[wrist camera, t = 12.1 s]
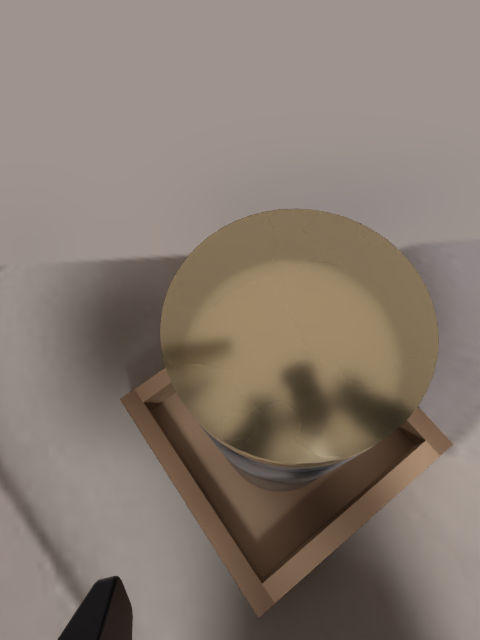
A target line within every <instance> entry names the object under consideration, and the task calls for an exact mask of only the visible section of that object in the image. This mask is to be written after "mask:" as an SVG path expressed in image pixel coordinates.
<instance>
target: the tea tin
mask: <svg viewBox="0 0 480 640" xmlns="http://www.w3.org/2000/svg"><path fill="white" fill-rule="evenodd" d="M160 340H161V351H162V355H163V360H164V365H165V368H166V370H167V373H168V376H169V378H170V381H171V383H172V385H173V387H174V389H175V391H176V392H177V394H178V396H179V398H180V399H181V401H182V402H183V403H184V405H185V406H186V407H187V409H188V410H189V411H190V413H191V414H192V415H193V417H194V418H195V419H196V420H197V422H198V423H199V424H200V426H201V427H202V428H203V429H204V431H205V432H206V433H207V434H208V436H209V437H210V438H211V440H212V441H213V442H214V443H215V445H216V446H217V447H218V448H219V450H220V451H221V452H222V454H223V455H224V456H225V457H226V459H227V460H228V461H229V463H230V464H231V465H232V466H233V468H234V469H235V470H236V471H237V472H238V473H239V474H240V475H241V476H242V477H243V478H244V479H246V480H247V481H248V482H250V483H252V484H253V485H255V486H258V487H260V488H263V489H266V490H271V491H291V490H295V489H299V488H302V487H304V486H306V485H308V484H310V483H311V482H313V481H315V480H317V479H318V478H320V477H322V476H323V475H325V474H327V473H329V472H330V471H332V470H334V469H335V468H337V467H339V466H341V465H342V464H344V463H346V462H347V461H349V460H351V459H353V458H354V457H356V456H358V455H359V454H361V453H363V452H365V451H366V450H368V449H370V448H371V447H373V446H375V445H376V444H378V443H379V442H381V441H382V440H384V439H385V438H387V437H388V436H390V435H391V434H393V433H394V432H395V431H396V430H397V429H398V428H399V427H400V426H401V425H403V424H404V423H405V422H406V421H407V419H408V418H409V417H410V416H411V415H412V413H413V412H414V411H415V410H416V408H417V407H418V405H419V404H420V402H421V400H422V399H423V397H424V395H425V394H426V392H427V390H428V387H429V385H430V382H431V380H432V377H433V375H434V370H435V366H436V362H437V356H438V343H439V337H438V323H437V319H436V314H435V310H434V306H433V303H432V300H431V298H430V295H429V292H428V290H427V288H426V286H425V284H424V282H423V280H422V279H421V277H420V275H419V274H418V272H417V271H416V270H415V268H414V267H413V265H412V264H411V262H410V261H409V260H408V259H407V258H406V257H405V256H404V255H403V254H402V253H401V252H400V250H398V249H397V248H396V247H395V246H394V245H393V244H391V243H390V242H389V241H388V240H387V239H385V238H384V237H382V236H381V235H380V234H378V233H377V232H375V231H373V230H371V229H370V228H368V227H366V226H364V225H362V224H360V223H358V222H356V221H353V220H351V219H348V218H346V217H343V216H340V215H336V214H332V213H328V212H323V211H317V210H310V209H279V210H273V211H266V212H262V213H258V214H254V215H250V216H247V217H245V218H242V219H240V220H237V221H235V222H233V223H231V224H229V225H227V226H225V227H223V228H221V229H220V230H218V231H217V232H215V233H214V234H212V235H211V236H209V237H208V238H207V239H205V240H204V241H203V242H202V243H201V244H200V245H199V246H197V247H196V248H195V249H194V250H193V252H192V253H191V254H190V255H189V256H188V257H187V258H186V259H185V261H184V262H183V264H182V265H181V267H180V268H179V269H178V271H177V273H176V274H175V276H174V278H173V280H172V282H171V284H170V286H169V289H168V292H167V294H166V297H165V300H164V305H163V309H162V314H161V324H160Z"/></svg>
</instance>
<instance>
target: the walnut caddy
mask: <svg viewBox="0 0 480 640" xmlns="http://www.w3.org/2000/svg"><path fill="white" fill-rule="evenodd" d="M120 400H121V402H122V403H123V405H124V406H125V408H126V410H127V411H128V413H129V414H130V416H131V417H132V419H133V421H134V422H135V424H136V425H137V427H138V429H139V430H140V432H141V433H142V435H143V436H144V438H145V440H146V441H147V443H148V444H149V446H150V448H151V449H152V451H153V452H154V454H155V455H156V457H157V459H158V460H159V462H160V463H161V465H162V466H163V468H164V470H165V471H166V473H167V474H168V476H169V478H170V479H171V481H172V482H173V484H174V485H175V487H176V489H177V490H178V492H179V493H180V495H181V497H182V498H183V500H184V501H185V503H186V504H187V506H188V508H189V509H190V511H191V512H192V514H193V516H194V517H195V519H196V520H197V522H198V523H199V525H200V527H201V528H202V530H203V531H204V533H205V534H206V536H207V538H208V539H209V541H210V542H211V544H212V546H213V547H214V549H215V550H216V552H217V553H218V555H219V557H220V558H221V560H222V561H223V563H224V565H225V566H226V568H227V569H228V571H229V572H230V574H231V576H232V577H233V579H234V580H235V582H236V584H237V585H238V587H239V588H240V590H241V591H242V593H243V595H244V596H245V598H246V599H247V601H248V602H249V604H250V606H251V607H252V609H253V610H254V612H255V614H256V615H257V617H258V618H259V617H260V616H261V615H263V614H264V613H265V612H266V611H267V610H268V609H269V608H270V607H272V606H273V605H274V604H275V603H276V602H277V601H278V600H279V599H281V598H282V597H283V596H284V595H285V594H286V593H287V592H288V591H289V590H291V589H292V588H293V587H294V586H295V585H296V584H297V583H298V582H300V581H301V580H302V579H303V578H304V577H305V576H306V575H307V574H308V573H310V572H311V571H312V570H313V569H314V568H315V567H316V566H317V565H319V564H320V563H321V562H322V561H323V560H324V559H325V558H326V557H328V556H329V555H330V554H331V553H332V552H333V551H334V550H335V549H336V548H338V547H339V546H340V545H341V544H342V543H343V542H344V541H345V540H347V539H348V538H349V537H350V536H351V535H352V534H353V533H354V532H355V531H357V530H358V529H359V528H360V527H361V526H362V525H363V524H364V523H366V522H367V521H368V520H369V519H370V518H371V517H372V516H373V515H375V514H376V513H377V512H378V511H379V510H380V509H381V508H382V507H383V506H385V505H386V504H387V503H388V502H389V501H390V500H391V499H392V498H394V497H395V496H396V495H397V494H398V493H399V492H400V491H401V490H402V489H404V488H405V487H406V486H407V485H408V484H409V483H410V482H411V481H413V480H414V479H415V478H416V477H417V476H418V475H419V474H420V473H422V472H423V471H424V470H425V469H426V468H427V467H428V466H429V465H430V464H432V463H433V462H434V461H435V460H436V459H437V458H438V457H439V456H441V455H442V454H443V453H444V452H445V451H446V450H447V449H448V448H449V447H451V446H452V445H453V444H452V442H451V441H450V440H449V439H448V438H447V437H446V436H445V435H444V434H443V433H442V432H441V431H440V430H439V429H438V428H437V427H436V425H435V424H434V423H433V422H432V421H431V420H430V419H429V418H428V417H427V416H426V415H425V414H424V413H423V412H422V411H421V410H420V409H419V407H417V408H416V410H415V411H414V412H413V413H412V415H411V416H410V417H409V418H408V419H407V421H406V422H405V423H404V424H403V425H401V426H400V427H399V428H398V429H397V430H396V431H395V432H394V433H393V434H391V435H390V436H388V437H387V438H385V439H384V440H382V441H381V442H379V443H378V444H376V445H375V446H373V447H371V448H370V449H368V450H366V451H365V452H363V453H361V454H359V455H358V456H356V457H354V458H353V459H351V460H349V461H347V462H346V463H344V464H342V465H341V466H339V467H337V468H335V469H334V470H332V471H330V472H329V473H327V474H325V475H323V476H322V477H320V478H318V479H317V480H315V481H313V482H311V483H310V484H308V485H306V486H304V487H302V488H299V489H295V490H291V491H271V490H266V489H263V488H260V487H258V486H255V485H253V484H252V483H250V482H248V481H247V480H246V479H244V478H243V477H242V476H241V475H240V474H239V473H238V472H237V471H236V470H235V469H234V468H233V466H232V465H231V464H230V463H229V461H228V460H227V459H226V457H225V456H224V455H223V454H222V452H221V451H220V450H219V448H218V447H217V446H216V445H215V443H214V442H213V441H212V440H211V438H210V437H209V436H208V434H207V433H206V432H205V431H204V429H203V428H202V427H201V426H200V424H199V423H198V422H197V420H196V419H195V418H194V417H193V415H192V414H191V413H190V411H189V410H188V409H187V407H186V406H185V405H184V403H183V402H182V401H181V399H180V398H179V396H178V394H177V392H176V391H175V389H174V387H173V385H172V383H171V381H170V378H169V376H168V373H167V370H166V368H164V369H162V370H161V371H160V372H158V373H157V374H155V375H154V376H152V377H151V378H150V379H148V380H147V381H145V382H144V383H142V384H141V385H140V386H138V387H137V388H135V389H134V390H133V391H131V392H130V393H128V394H127V395H125V396H124V397H123V398H121V399H120Z"/></svg>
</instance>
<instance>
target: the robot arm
mask: <svg viewBox="0 0 480 640" xmlns="http://www.w3.org/2000/svg"><path fill="white" fill-rule="evenodd" d="M132 621H133V615H132V607H131V603H130V600H129V598H128V595H127V593H126V590H125V588H124V585H123V583H122V581H121V579H120V578H119V577H118V576H112V577H108V578H104V579H100V580H98V581H97V582H96V583H95V584H94V585H93V587H92V588H91V590H90V591H89V593H88V594H87V596H86V597H85V599H84V600H83V602H82V603H81V605H80V606H79V608H78V609H77V611H76V612H75V614H74V615H73V617H72V618H71V620H70V621H69V623H68V624H67V626H66V628H65V629H64V631H63V632H62V634H61V635H60V637H59V638H58V640H132Z"/></svg>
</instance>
